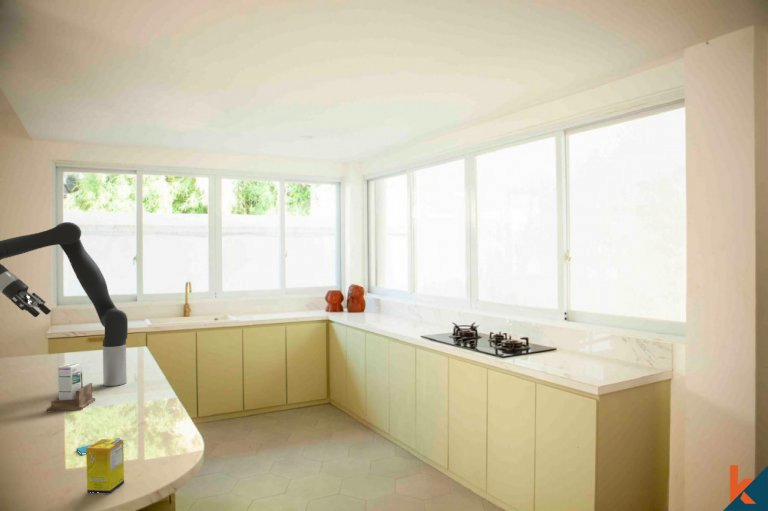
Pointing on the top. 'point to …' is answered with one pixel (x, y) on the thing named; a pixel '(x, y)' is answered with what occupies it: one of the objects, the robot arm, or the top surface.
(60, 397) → the syrup box
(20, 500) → the top surface
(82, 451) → the sponge
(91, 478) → the supplement box
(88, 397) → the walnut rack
